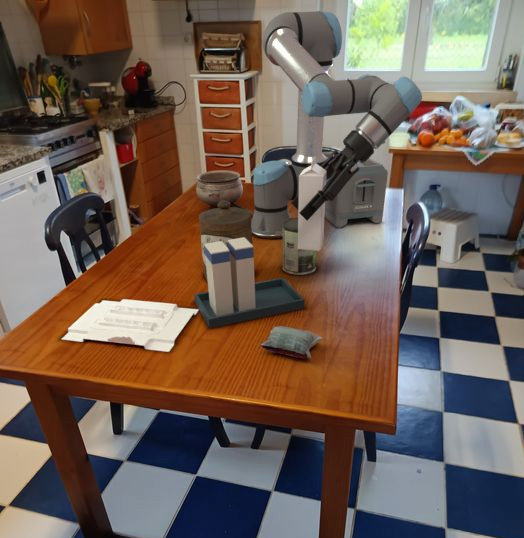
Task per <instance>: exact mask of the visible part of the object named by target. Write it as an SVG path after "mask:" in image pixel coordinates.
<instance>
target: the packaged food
mask: <svg viewBox="0 0 524 538" xmlns="http://www.w3.org/2000/svg"><path fill="white" fill-rule="evenodd" d="M269 333H270V334H269V336H268V337H267V340H265V341H263V343H261V344H260V347H261V348H263V349H265V350H266V351H268V352H269V353H270V352H271V353H274V354H275V353H276V354H282V355H285V356H290V357H295V358H300V359H306V358H307V359H311V357H312V356H311V352H310V350H311V348H313V347H314V346H315V345H316V344H317V343H318V342H321V341H322V340H323V338H322V337H321V336H320V335H318V334H315V333H312V331H309V330H304V329H300V328H295V327H289V326H282V325H281V326H280V325H279V326H276V325H273V328H272V330H270V332H269Z"/></svg>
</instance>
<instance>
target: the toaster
mask: <svg viewBox="0 0 524 538" xmlns="http://www.w3.org/2000/svg"><path fill="white" fill-rule="evenodd" d="M337 151H338V152H341V151H342V150H337ZM333 152H334V151H322V154H323V155H324V156H325V157H326V160H327V159H328V158H329V157H330V156H331V154H332V153H333ZM356 165H357V166H358V167H359V168H360V169H359V171H358V172H356V173H355V174H354V175H353V176H352V177H351V179H350V180H349V181H348V182H347V184H346V185H345V186H344V187H343V188H342V190H341V191H340V192H339V193H338V194H337V196H336V197H335V198H334V199H333V200H332V201H330V200H328V201H325V215H324V218H325V219H327V220H328V221H329V222H330V223H331V224H332V225H333V226H334V227H335V228H338V229H339V228H343V227H345V226H346V225H347V224H348V220H353V219H363V218H367V219H368V220H370V221H371V222H373V223H374V224H380V223H383V217H384V210H385V209H384V208H385V202H386V201H385V200H386V193H387V192H386V191H387V183H388V175H389V174H388V173H389V172H388V170H387V169H386V168H385V166H384V164H382V163H380V162H379V161H377V160H374V159H372V158H371V157H370V158H369V159H368V160H367V161H366V162H364V163H362V162H361V161H358V162H357V164H356ZM332 195H333V194H332Z"/></svg>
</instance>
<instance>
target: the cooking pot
mask: <svg viewBox="0 0 524 538" xmlns="http://www.w3.org/2000/svg"><path fill="white" fill-rule="evenodd" d="M240 177H241V173H240V172H237V171H235V170H226V169H225V170H223V169H221V170H219V169H217V170H211V171H209V170H208V171H204V172H201V173H199V174H197V175H196V179H197V181H196V187H195V191H196V195H197V197H198V199H199V200H200V201H201V202H202V203H204V204H206V205H208V206H210V207H212V208H213V209H215V208H219V207H218V203H219V202H221V201H222V200H226V201H228V202H229V203H230V206H232V204H233V203H236V202H237V201H238V200H240V199H241V197H242V195H243V192H244V187H243V184H242V180H241V179H240Z"/></svg>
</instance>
